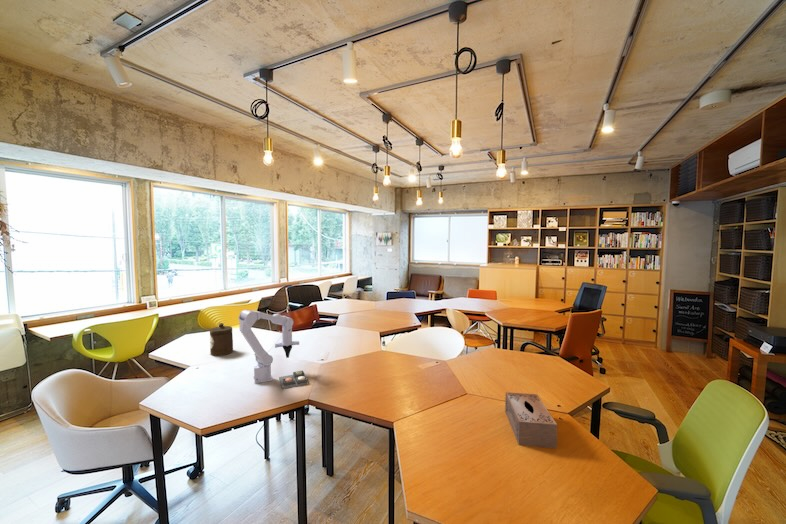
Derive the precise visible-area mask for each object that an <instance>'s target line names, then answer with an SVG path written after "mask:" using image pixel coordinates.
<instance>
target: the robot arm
mask: <svg viewBox="0 0 786 524" xmlns="http://www.w3.org/2000/svg"><path fill="white" fill-rule="evenodd" d="M260 319H263V320H267V321H270V322H271V324H275V325H280V326H281V327H282V328H281V329H282V330H281V331H282V336H281V337H282V338H281V339H282V341H281V342H278V343H274V348H275V349H277V348H283V351H284V353H285V357H286V359H288V358H290V353H291V351H292V348H293V346H299V345H300V341H299V340H296V341H295V340H294V341H293V325H294V322H295V321H294V319H293V318H292V317H288V316H287V315H281V314H280V313H277V312H276V313H274V314H268V313H266V312H262V311H257V310H253V309H252V310H248V309H243V310H241V312H240V313H239V316H238V321H239V332H240V333H241V335H242V336H243V337H244V340H246V342H247V344H248V345H249V347H250V348H251V349H252V351H253V353H254V354H253V355H254V357H255V362H256V363H257V365H254V367H253V372H254V373H253V380H254V384H259V383H267V382H271V381H273V377H272V364H273V361H274V357H273V356H272V355H270V354H269V353H268V351H266V350H265V348H264V347H263V345H262V344H261V343H260V341H259V340H258V337H257V336H256V334H255V333H254V331H253V330H252V327H253V326H254V324H255V323H256V322H257V321H259V320H260Z"/></svg>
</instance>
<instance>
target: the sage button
mask: <svg viewBox="0 0 786 524" xmlns="http://www.w3.org/2000/svg"><path fill="white" fill-rule="evenodd" d="M302 371H303V370H297V371H294V372H295V375H299V374H302Z"/></svg>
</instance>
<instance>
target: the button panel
mask: <svg viewBox="0 0 786 524" xmlns="http://www.w3.org/2000/svg"><path fill="white" fill-rule="evenodd" d="M301 371H302V374H299V375H295V372H296V371H292V374H289V375H283V376H278V379H279V383H280V386H281V389H282V390H283V389H285V390H286V389H289V388H294V387H295V388H296V387H300V386H306V385H308V384H309V382H308V378H307V376H306V375H305V374H306V373H305V372H304V370H301ZM300 376H304V377H305V380H299V381H298V377H300ZM286 378H292V381H289V382H285V379H286Z"/></svg>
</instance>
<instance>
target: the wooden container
mask: <svg viewBox="0 0 786 524" xmlns="http://www.w3.org/2000/svg"><path fill="white" fill-rule="evenodd" d="M209 349H210V353H209V354H210V355H211V356H214V357H219V356H220V357H221V356H225V355H229V354H231V353H233V352H234V340H233V327H232V326H230V325H229V326H228V325H225V324H224V323H223V322H219V323H218V326H215V327H212V328H210V329H209Z"/></svg>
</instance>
